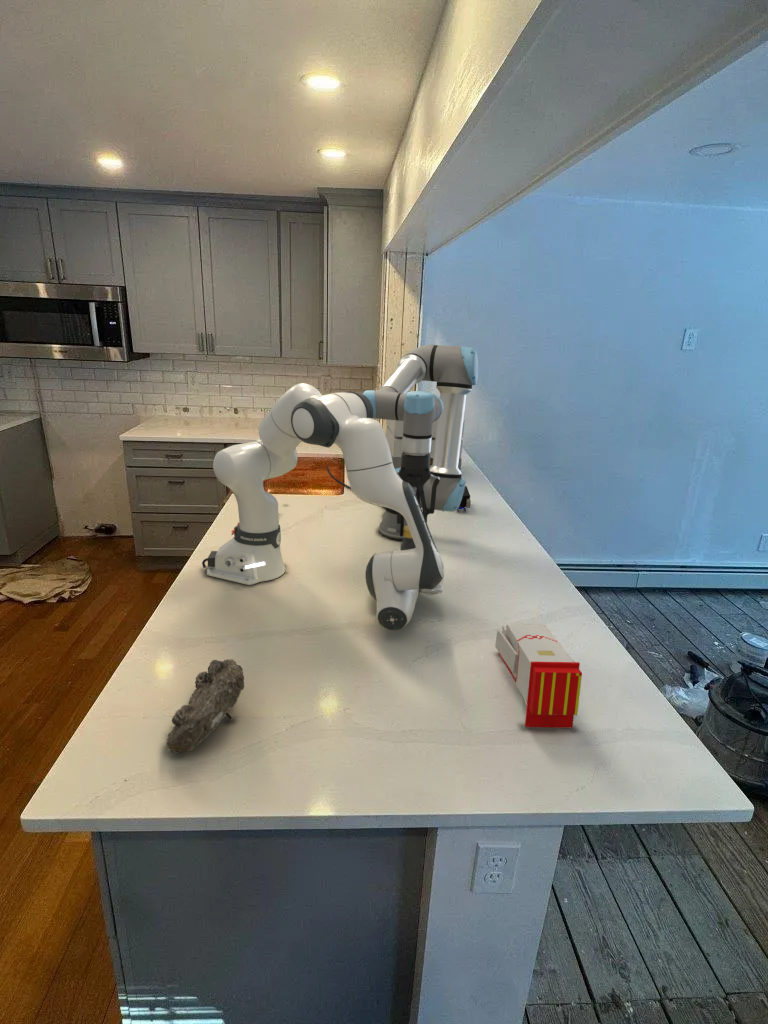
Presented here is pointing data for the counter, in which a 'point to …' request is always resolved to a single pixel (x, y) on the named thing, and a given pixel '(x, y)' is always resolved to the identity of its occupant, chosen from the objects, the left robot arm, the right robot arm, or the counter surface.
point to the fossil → (206, 705)
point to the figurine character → (465, 500)
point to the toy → (541, 674)
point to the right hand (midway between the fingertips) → (410, 535)
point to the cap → (406, 532)
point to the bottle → (407, 544)
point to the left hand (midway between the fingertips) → (409, 566)
